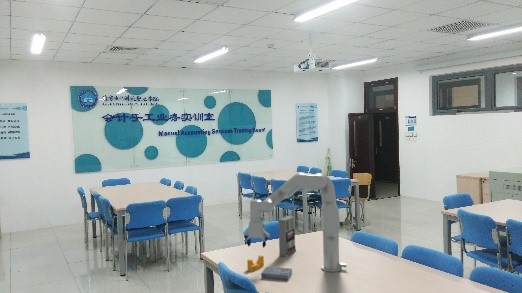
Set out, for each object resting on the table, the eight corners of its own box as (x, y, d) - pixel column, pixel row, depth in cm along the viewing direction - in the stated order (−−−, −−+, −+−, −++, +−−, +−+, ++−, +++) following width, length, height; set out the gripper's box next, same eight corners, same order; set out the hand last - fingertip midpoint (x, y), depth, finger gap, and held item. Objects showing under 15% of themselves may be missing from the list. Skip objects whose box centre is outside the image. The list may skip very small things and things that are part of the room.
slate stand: (292, 273, 244) (292, 268, 244) (288, 280, 234) (288, 275, 234) (266, 271, 249) (266, 266, 249) (261, 278, 239) (261, 273, 238)
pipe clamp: (252, 271, 250) (252, 261, 250) (247, 270, 253) (247, 259, 253) (265, 266, 259) (265, 256, 259) (260, 265, 262) (260, 255, 262)
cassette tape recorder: (287, 256, 276) (286, 220, 275) (279, 255, 279) (278, 219, 278) (296, 251, 288) (295, 216, 287) (288, 250, 291) (287, 215, 290)
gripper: (271, 218, 255) (271, 245, 256) (245, 217, 260) (245, 243, 261) (268, 221, 248) (268, 249, 249) (241, 220, 253) (241, 247, 254)
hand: (256, 246), depth 255 cm, fingers open, 9 cm apart
